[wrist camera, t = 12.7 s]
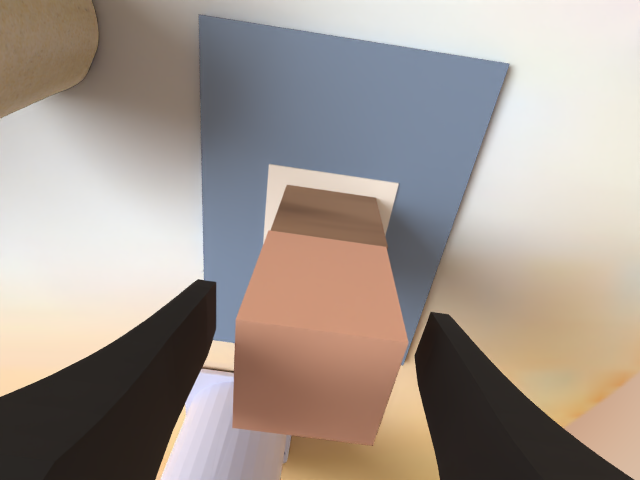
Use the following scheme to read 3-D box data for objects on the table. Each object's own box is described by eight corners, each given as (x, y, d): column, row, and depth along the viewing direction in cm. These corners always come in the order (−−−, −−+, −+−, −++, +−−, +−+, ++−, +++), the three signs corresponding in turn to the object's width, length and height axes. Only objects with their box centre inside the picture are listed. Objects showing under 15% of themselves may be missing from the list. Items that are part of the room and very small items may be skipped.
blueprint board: (402, 360, 24) (403, 366, 24) (207, 334, 24) (204, 340, 23) (505, 63, 16) (510, 63, 15) (201, 15, 15) (197, 14, 15)
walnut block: (359, 271, 20) (364, 334, 16) (279, 260, 20) (262, 321, 16) (375, 197, 18) (387, 247, 14) (286, 184, 18) (270, 230, 14)
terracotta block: (363, 334, 16) (372, 445, 12) (261, 320, 16) (232, 427, 11) (386, 246, 14) (408, 342, 9) (268, 230, 14) (235, 319, 9)
